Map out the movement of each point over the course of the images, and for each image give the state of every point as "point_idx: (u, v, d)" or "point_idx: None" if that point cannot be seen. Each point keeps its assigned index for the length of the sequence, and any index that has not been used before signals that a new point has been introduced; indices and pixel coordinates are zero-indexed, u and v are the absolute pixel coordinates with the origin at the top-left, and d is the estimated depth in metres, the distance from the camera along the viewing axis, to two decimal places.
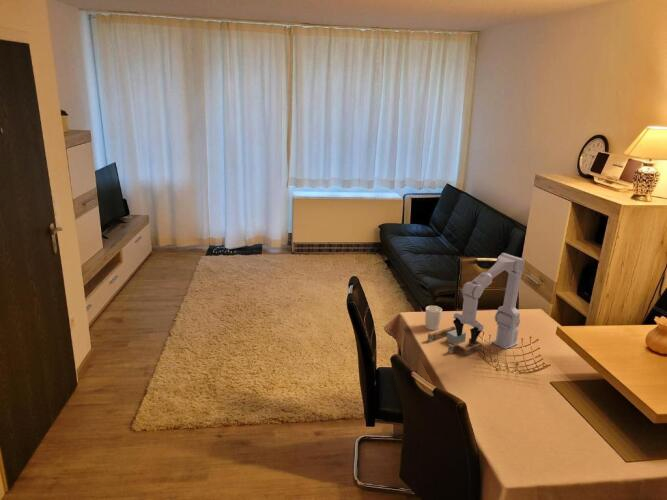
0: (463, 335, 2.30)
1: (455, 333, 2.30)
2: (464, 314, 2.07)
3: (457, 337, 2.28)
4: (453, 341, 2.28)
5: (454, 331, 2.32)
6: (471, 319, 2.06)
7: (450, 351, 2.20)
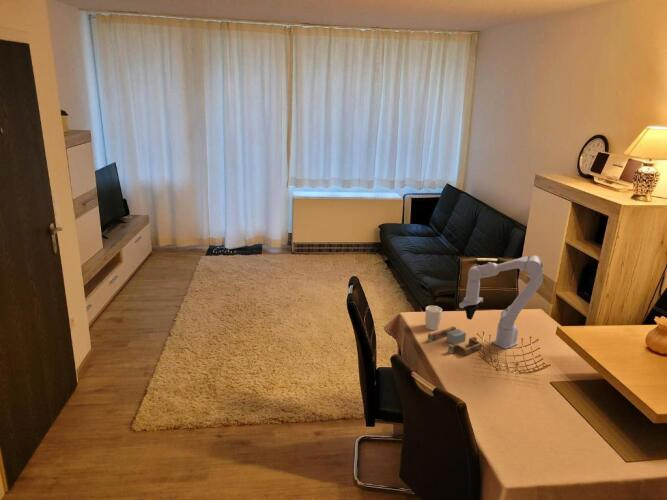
0: (463, 335, 2.30)
1: (455, 333, 2.30)
2: None
3: (457, 337, 2.28)
4: (452, 341, 2.29)
5: (454, 331, 2.32)
6: (466, 298, 2.30)
7: (450, 351, 2.20)
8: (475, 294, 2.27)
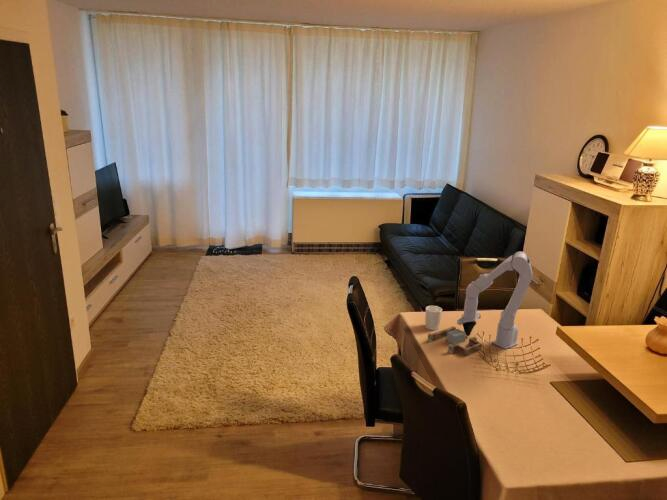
0: (463, 335, 2.30)
1: (455, 333, 2.30)
2: None
3: (457, 337, 2.28)
4: (452, 341, 2.29)
5: (454, 331, 2.32)
6: (464, 314, 2.32)
7: (450, 351, 2.20)
8: (473, 311, 2.29)
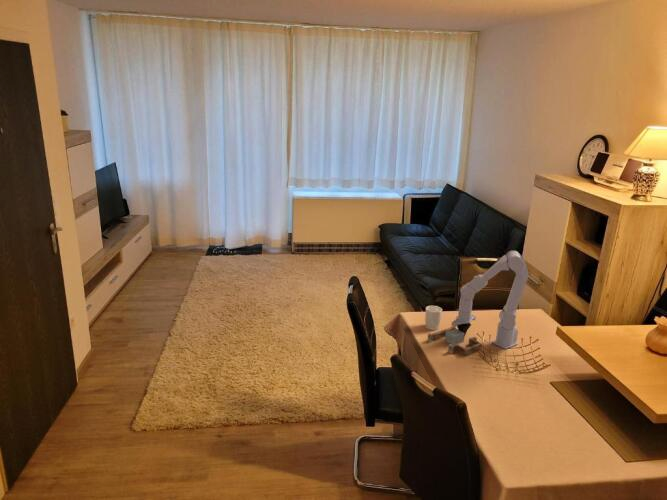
0: (462, 336, 2.29)
1: (453, 333, 2.29)
2: None
3: (455, 337, 2.27)
4: (451, 341, 2.28)
5: (453, 331, 2.31)
6: (458, 316, 2.30)
7: (450, 351, 2.20)
8: (467, 313, 2.27)
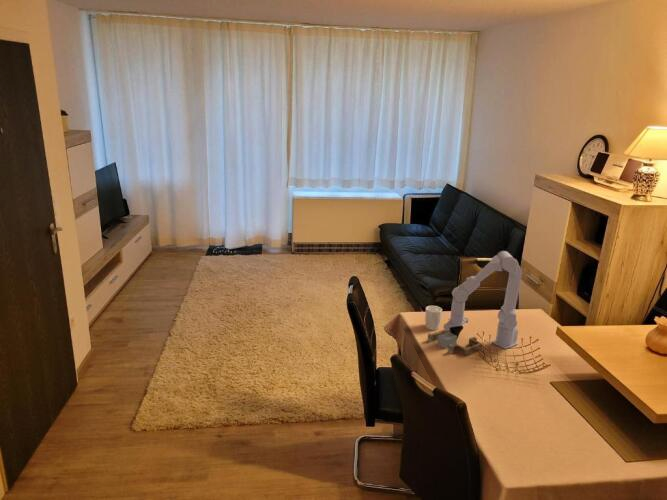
0: (454, 338, 2.26)
1: (446, 336, 2.26)
2: None
3: (448, 340, 2.24)
4: (443, 344, 2.25)
5: (445, 334, 2.28)
6: (450, 319, 2.27)
7: (450, 351, 2.20)
8: (460, 315, 2.24)
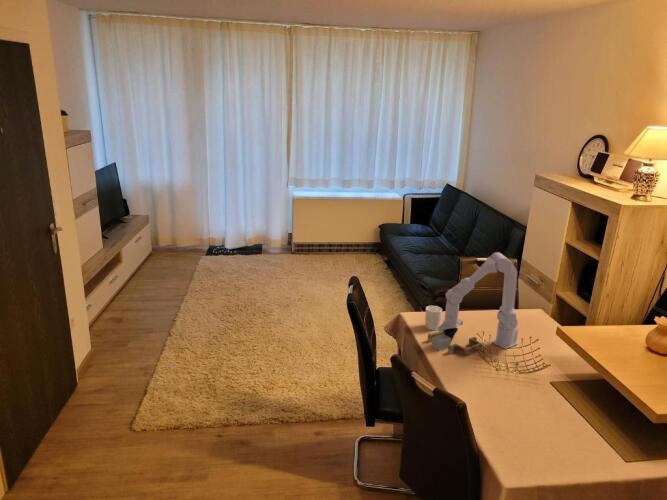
0: (448, 341, 2.24)
1: (440, 338, 2.24)
2: None
3: (442, 342, 2.22)
4: (437, 346, 2.23)
5: (439, 336, 2.26)
6: (445, 321, 2.25)
7: (450, 351, 2.20)
8: (454, 317, 2.22)
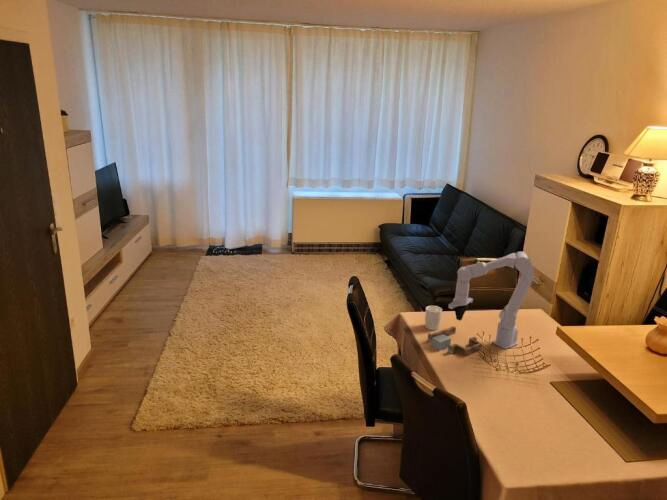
0: (448, 341, 2.24)
1: (440, 339, 2.24)
2: None
3: (442, 342, 2.22)
4: (437, 347, 2.23)
5: (439, 336, 2.26)
6: (455, 298, 2.29)
7: (450, 351, 2.20)
8: (464, 295, 2.26)
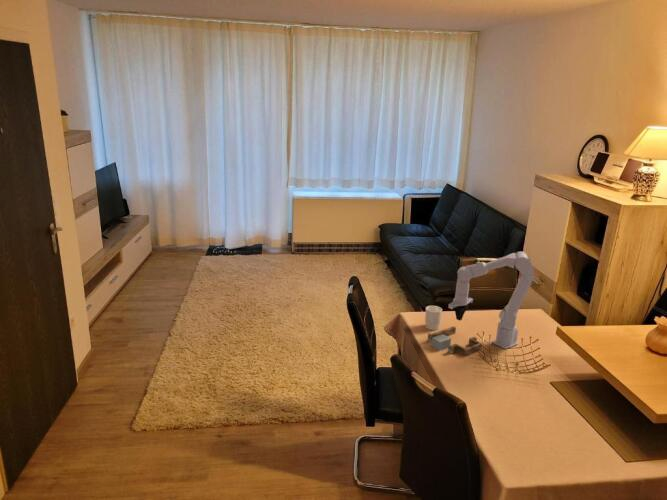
0: (448, 341, 2.24)
1: (440, 339, 2.24)
2: None
3: (442, 342, 2.22)
4: (437, 347, 2.23)
5: (439, 336, 2.26)
6: (455, 298, 2.29)
7: (450, 351, 2.20)
8: (464, 295, 2.26)
